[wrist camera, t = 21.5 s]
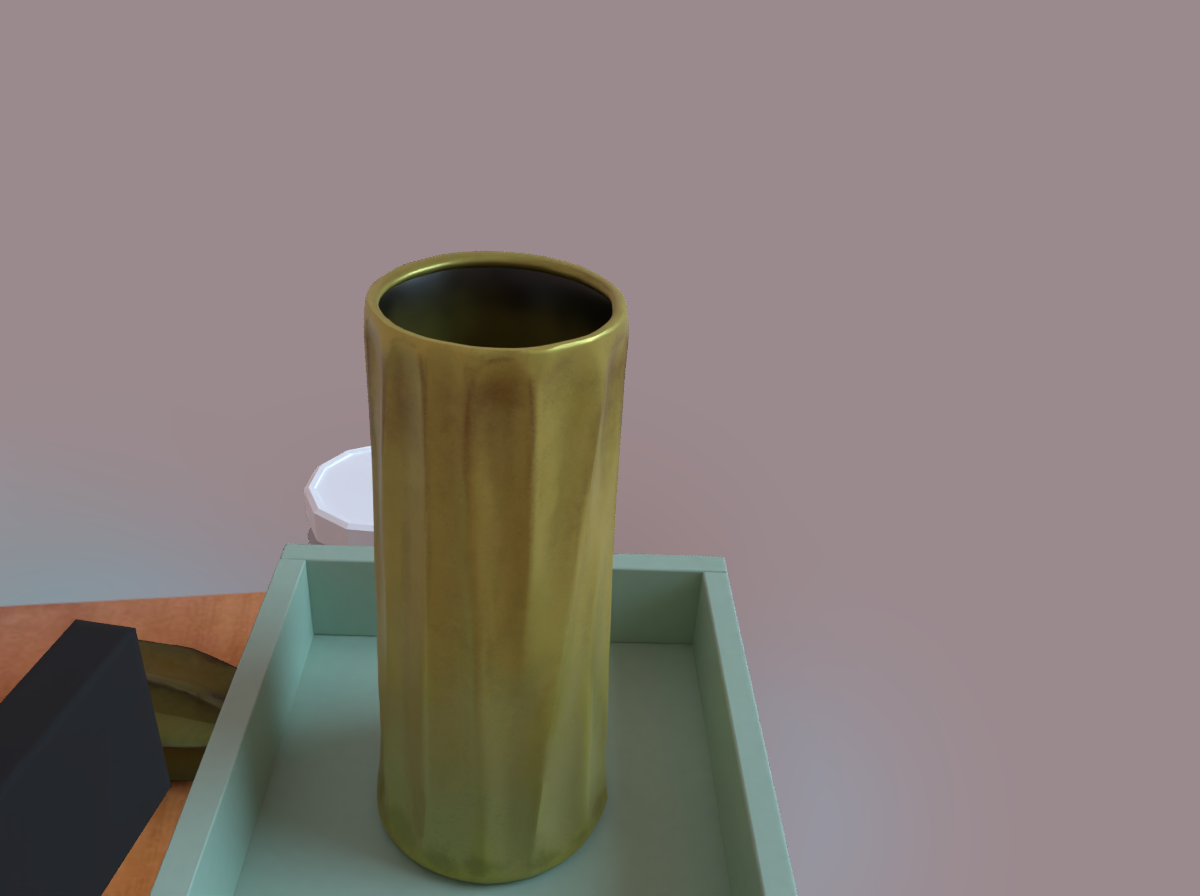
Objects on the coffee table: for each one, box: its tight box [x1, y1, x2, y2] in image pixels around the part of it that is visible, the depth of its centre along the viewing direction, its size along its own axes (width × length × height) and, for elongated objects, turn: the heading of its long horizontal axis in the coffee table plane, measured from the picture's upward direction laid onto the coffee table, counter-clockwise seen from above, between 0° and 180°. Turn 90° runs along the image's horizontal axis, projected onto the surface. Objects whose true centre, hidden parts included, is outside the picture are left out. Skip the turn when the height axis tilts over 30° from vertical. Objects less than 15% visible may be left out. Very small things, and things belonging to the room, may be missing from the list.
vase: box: [364, 251, 628, 884], centre depth 24 cm, size 6×6×14 cm
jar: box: [304, 446, 374, 546], centre depth 58 cm, size 10×10×18 cm
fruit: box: [138, 640, 237, 781], centre depth 58 cm, size 11×12×7 cm
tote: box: [149, 544, 798, 896], centre depth 27 cm, size 14×14×4 cm
